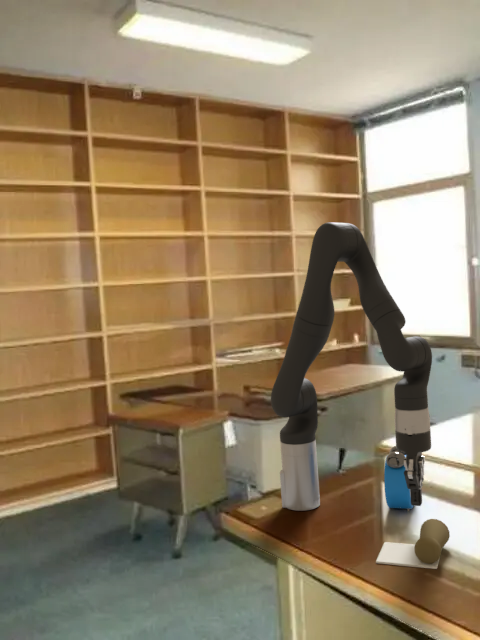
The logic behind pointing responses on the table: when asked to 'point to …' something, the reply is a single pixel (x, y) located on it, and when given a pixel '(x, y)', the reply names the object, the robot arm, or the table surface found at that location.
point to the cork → (431, 541)
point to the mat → (402, 556)
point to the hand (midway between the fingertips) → (416, 504)
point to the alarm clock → (396, 481)
